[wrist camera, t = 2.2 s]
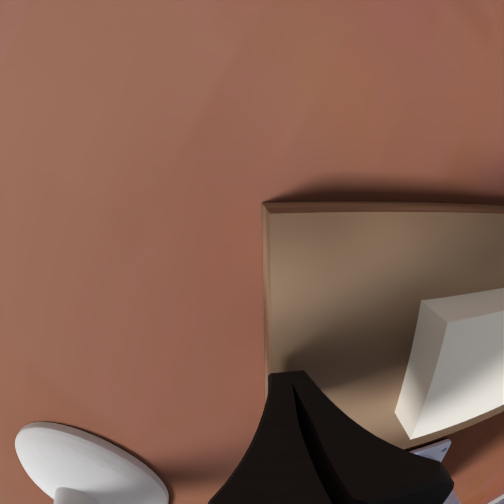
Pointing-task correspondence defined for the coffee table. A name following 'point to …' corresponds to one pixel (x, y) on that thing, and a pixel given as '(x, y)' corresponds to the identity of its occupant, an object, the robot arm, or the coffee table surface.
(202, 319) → the coffee table surface
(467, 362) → the white box with patch
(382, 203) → the brown box
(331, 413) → the robot arm
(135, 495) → the candlestick
